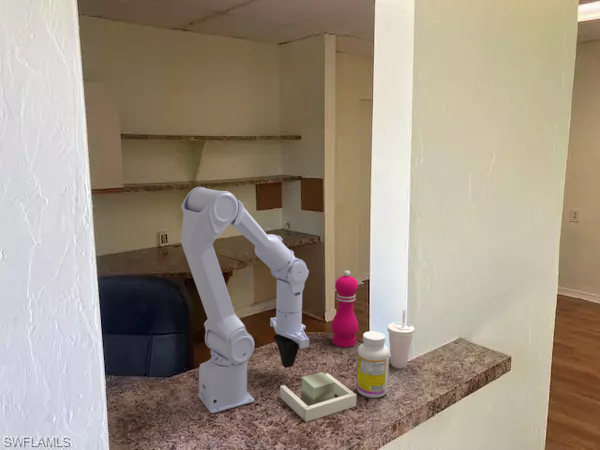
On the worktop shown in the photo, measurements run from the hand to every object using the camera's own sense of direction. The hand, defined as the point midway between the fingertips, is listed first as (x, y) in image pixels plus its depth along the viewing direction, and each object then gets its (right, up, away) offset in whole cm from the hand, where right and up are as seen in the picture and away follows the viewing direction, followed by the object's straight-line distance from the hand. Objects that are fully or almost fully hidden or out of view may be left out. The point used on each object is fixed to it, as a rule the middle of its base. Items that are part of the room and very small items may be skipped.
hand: (287, 365), depth 112 cm
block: (+6, -5, -10) cm, 13 cm away
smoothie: (+27, -2, +7) cm, 28 cm away
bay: (+6, -4, -10) cm, 13 cm away
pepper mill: (+15, 0, +20) cm, 24 cm away
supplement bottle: (+18, -4, -5) cm, 20 cm away
